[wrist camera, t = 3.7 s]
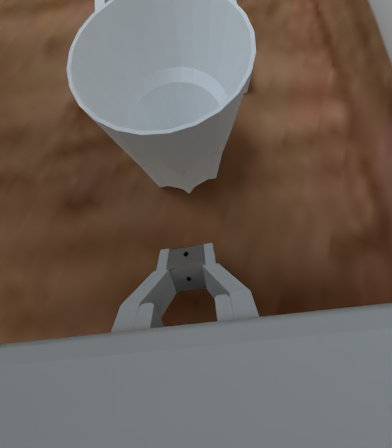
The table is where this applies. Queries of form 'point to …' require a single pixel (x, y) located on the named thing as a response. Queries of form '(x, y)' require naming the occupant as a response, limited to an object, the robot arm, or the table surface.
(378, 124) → the table surface
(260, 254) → the table surface
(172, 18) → the cup
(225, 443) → the robot arm
